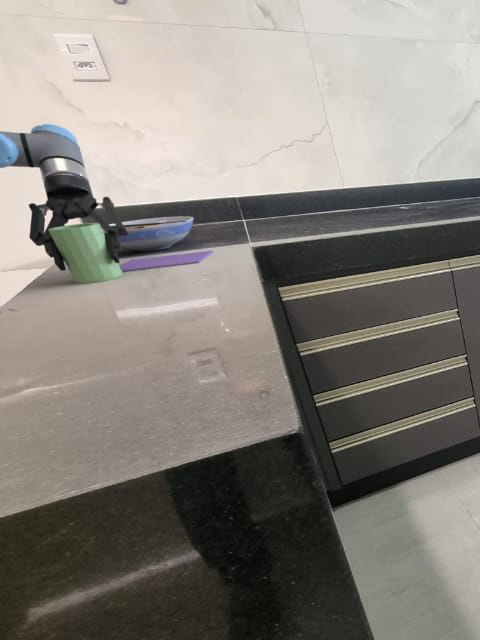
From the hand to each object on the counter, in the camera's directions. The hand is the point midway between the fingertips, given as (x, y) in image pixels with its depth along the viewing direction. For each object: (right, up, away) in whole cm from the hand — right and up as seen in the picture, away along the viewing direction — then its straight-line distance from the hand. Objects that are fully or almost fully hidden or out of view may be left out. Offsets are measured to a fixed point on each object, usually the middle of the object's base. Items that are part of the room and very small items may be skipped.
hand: (88, 263), depth 119 cm
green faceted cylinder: (-2, -3, +4) cm, 5 cm away
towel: (+1, +4, +17) cm, 18 cm away
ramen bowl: (-17, +10, +34) cm, 39 cm away
